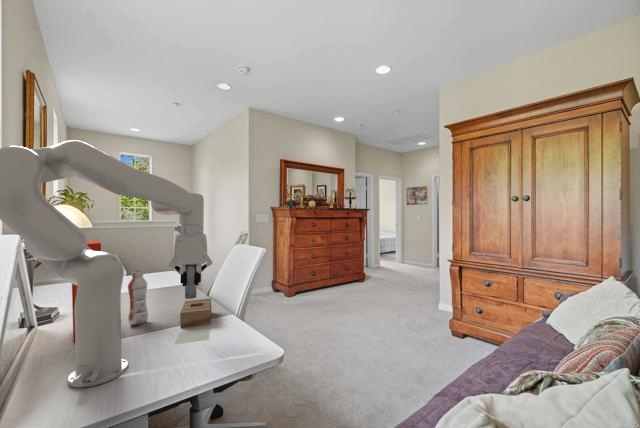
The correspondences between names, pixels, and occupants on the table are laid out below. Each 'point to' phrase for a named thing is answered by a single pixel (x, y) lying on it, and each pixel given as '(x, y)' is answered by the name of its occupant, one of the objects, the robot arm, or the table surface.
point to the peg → (190, 281)
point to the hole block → (195, 313)
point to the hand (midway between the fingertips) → (190, 284)
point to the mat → (192, 336)
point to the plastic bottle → (137, 299)
